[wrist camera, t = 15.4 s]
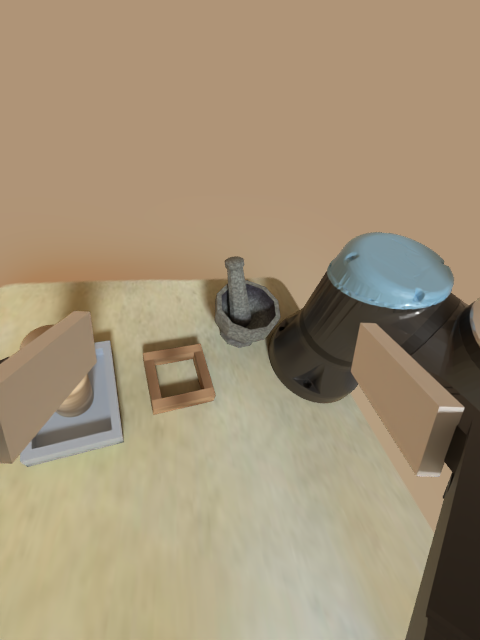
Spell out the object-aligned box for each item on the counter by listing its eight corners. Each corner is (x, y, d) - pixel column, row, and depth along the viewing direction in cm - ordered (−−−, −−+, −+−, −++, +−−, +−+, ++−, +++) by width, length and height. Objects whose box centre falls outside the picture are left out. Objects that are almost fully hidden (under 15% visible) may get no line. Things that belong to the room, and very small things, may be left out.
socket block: (198, 350, 48) (200, 343, 47) (213, 400, 44) (215, 395, 43) (143, 359, 45) (143, 353, 44) (153, 414, 41) (153, 409, 40)
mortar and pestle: (278, 340, 53) (306, 295, 43) (234, 368, 48) (255, 323, 39) (236, 293, 57) (254, 242, 47) (192, 314, 52) (202, 261, 42)
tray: (111, 349, 45) (109, 340, 43) (123, 442, 39) (122, 436, 37) (28, 362, 42) (23, 353, 40) (27, 466, 35) (20, 461, 33)
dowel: (92, 378, 41) (75, 321, 31) (95, 412, 39) (79, 363, 29) (51, 385, 40) (20, 328, 29) (52, 421, 37) (19, 373, 27)
